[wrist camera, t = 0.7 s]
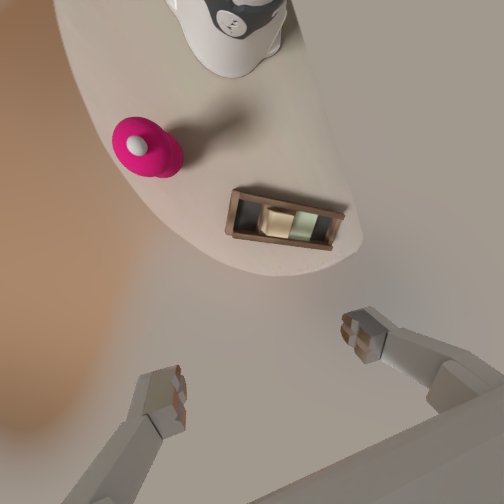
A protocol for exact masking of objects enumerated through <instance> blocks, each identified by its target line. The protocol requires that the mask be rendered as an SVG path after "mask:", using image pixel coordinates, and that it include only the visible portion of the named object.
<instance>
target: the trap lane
mask: <svg viewBox="0 0 504 504" xmlns="http://www.w3.org/2000/svg"><path fill="white" fill-rule="evenodd" d="M266 208H267V209H272V210H277V211H282V212H287V213H289V214H291V215H293V216H294V219H293V222H292V226H291V229H290V233H289V236H288V238H282V237H275V236H268V235H266V234H265V233H264V232H263V231H262V230H261V228H262V224H263V220H264V216H265V212H266ZM344 217H345V215H343V214H341V213H338V212H334V211H329V210H324V209H320V208H315V207H310V206H306V205H301V204H296V203H292V202H287V201H282V200H278V199H273V198H268V197H264V196H259V195H254V194H250V193H245V192H240V191H236V190H232V194H231V200H230V205H229V211H228V216H227V222H226V228H225V233H226V235H232V237H233V238H235V239H243V240H250V241H258V242H266V243H274V244H281V245H289V246H297V247H304V248H312V249H320V250H328V251H332V248H333V246H332V243H333V240H334V238H335V235H336V233H337V230H338V227H339V225H340V222H341V220H344Z"/></svg>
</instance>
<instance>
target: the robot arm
mask: <svg viewBox="0 0 504 504" xmlns="http://www.w3.org/2000/svg"><path fill="white" fill-rule="evenodd" d="M165 1H166V2H167V4H168V5H169V7H170V8H171V10H172V11H173V12H174V14H175V15H176V16H177V18H178V20H179V22H180V24H181V27H182V30H183V32H184V35H185V37H186V40H187V42H188V44H189V46H190V48H191V49H192V51H193V53H194V54H195V55H196V57H197V58H198V59H199V60H200V62H201V63H202V64H203V65H204V66H206V67H207V68H208V69H209V70H211V71H212V72H214V73H216V74H218V75H220V76H223V77H228V78H237V77H241V76H244V75H246V74H248V73H249V72H251V71H252V70H253V69H254V68H255V67H256V66H257V65H258V64H259V63H260V61H261V60H263V59H264V58H267V57H269V56H272V55H274V54H275V53H276V52H277V51H278V49H279V47H280V43H281V29H282V25H283V23H284V21H285V19H286V16H287V10H286V4H287V0H165ZM342 321H343V322H344V323H343V324H342V325H341V334H342V337H343V339H344V340H345V342H346V343H347V344H348V345H349V346H351V347H354V350H355V353H356V355H357V356H358V357H359V358H360V359H361V360H362V362H363V363H364V364H368V363H371V362H374V361H377V360H380V359H381V361H382V362H384V363H386V364H387V365H389V366H391V367H393V368H394V369H396V370H398V371H400V372H401V373H403V374H405V375H406V376H408V377H410V378H412V379H413V380H415V381H417V382H419V383H420V384H422V385H424V386H425V387H427V388H429V389H430V390H429V392H428V394H427V396H426V401H427V402H428V403H429V404H430V405H431V406H432V407H433V408H434V409H435V410H436V411H437V412H438V413H439V415H437V416H434V417H432V418H430V419H428V420H426V421H424V422H422V423H420V424H417V425H415V426H413V427H411V428H409V429H407V430H405V431H402V432H400V433H398V434H396V435H394V436H392V437H389V438H387V439H385V440H383V441H381V442H379V443H377V444H374V445H372V446H370V447H368V448H366V449H364V450H362V451H359V452H357V453H355V454H353V455H351V456H349V457H347V458H344V459H342V460H340V461H338V462H336V463H334V464H332V465H330V466H327V467H325V468H323V469H321V470H319V471H317V472H314V473H312V474H310V475H308V476H306V477H304V478H302V479H300V480H297V481H295V482H293V483H291V484H289V485H287V486H285V487H282V488H280V489H278V490H276V491H274V492H271V493H270V494H267V495H265V496H263V497H261V498H259V499H257V500H254V501H252V502H250V503H248V504H504V375H503V374H502V373H500V372H499V371H497V370H496V369H494V368H492V367H491V366H490V365H488V364H487V363H485V362H484V361H482V360H481V359H479V358H478V357H477V356H475V355H474V354H472V353H471V352H469V351H467V350H464V349H461V348H458V347H456V346H453V345H450V344H447V343H444V342H441V341H438V340H436V339H433V338H430V337H427V336H425V335H422V334H419V333H416V332H413V331H410V330H408V329H405V328H398V327H397V326H396V325H395V324H394V323H392V322H391V321H390V320H388V319H387V318H386V317H385V316H383V315H382V314H381V313H379V312H378V311H377V310H376V309H375V308H373V307H371V306H368V307H365V308H362V309H358V310H355V311H351V312H348V313H345V314H343V316H342ZM180 373H181V368H180V366H179V365H175V366H171V367H167V368H164V369H160V370H156V371H153V372H150V373H146V374H143V375H140V377H139V378H138V380H137V384H136V388H135V391H134V395H133V398H132V402H131V406H130V409H129V413H128V416H127V420H126V421H125V422H123V423H121V425H120V426H119V427H118V429H117V430H116V431H115V433H114V434H113V435H112V437H111V438H110V439H109V441H108V442H107V443H106V445H105V446H104V447H103V449H102V450H101V451H100V453H99V454H98V456H97V457H96V458H95V459H94V461H93V462H92V463H91V465H90V466H89V468H88V469H87V470H86V471H85V473H84V474H83V476H82V477H81V478H80V480H79V481H78V482H77V484H76V485H75V486H74V488H73V489H72V490H71V492H70V493H69V494H68V496H67V497H66V498H65V500H64V501H63V502H62V504H133V503H134V501H135V499H136V496H137V494H138V492H139V490H140V488H141V486H142V484H143V482H144V480H145V478H146V476H147V473H148V472H149V469H150V467H151V465H152V463H153V461H154V459H155V457H156V455H157V453H158V451H159V449H160V447H161V445H162V442H163V439H166V438H168V437H171V436H173V435H176V434H178V433H181V432H183V431H185V425H186V410H185V408H184V406H183V405H184V403H185V402H186V400H187V389H186V383H185V378H184V376H183V375H181V374H180Z"/></svg>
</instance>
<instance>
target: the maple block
mask: <svg viewBox="0 0 504 504" xmlns="http://www.w3.org/2000/svg"><path fill="white" fill-rule="evenodd" d="M293 219H294V216H293V215H291V214H289V213H287V212H282V211H277V210H272V209H267V208H266V212H265V216H264V220H263V224H262V228H261V230H262V231H263V232H264V233H265V234H266V235H268V236H275V237H282V238H288V236H289V233H290V229H291V226H292V222H293Z"/></svg>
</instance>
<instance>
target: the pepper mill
mask: <svg viewBox="0 0 504 504" xmlns="http://www.w3.org/2000/svg"><path fill="white" fill-rule="evenodd" d="M112 144H113V149H114V151H115V154H116V156H117V158H118V159H119V161H120V162H121V163H122V164H123V165H124V166H125V167H126V168H127V169H128V170H130V171H131V172H133V173H135V174H137V175H140V176H144V177H154V176H156V177H159V178H168V177H171V176H173V175H175V174H176V173H177V172H178V171H179V170H180V168H181V166H182V163H183V154H182V150H181V147H180V145H179V144H178V142H177V141H176V140H175V138H173V137H172V136H171V135H170V134H168V133H166V132H165V131H164V130H163V129H162V128H161V127H160V126H158V125H157V124H156V123H154V122H152V121H150V120H148V119H146V118H142V117H129V118H126V119H124V120H122V121H121V122H120V123H119V124H118V125H117V126H116V128H115V130H114V132H113V136H112Z"/></svg>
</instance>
